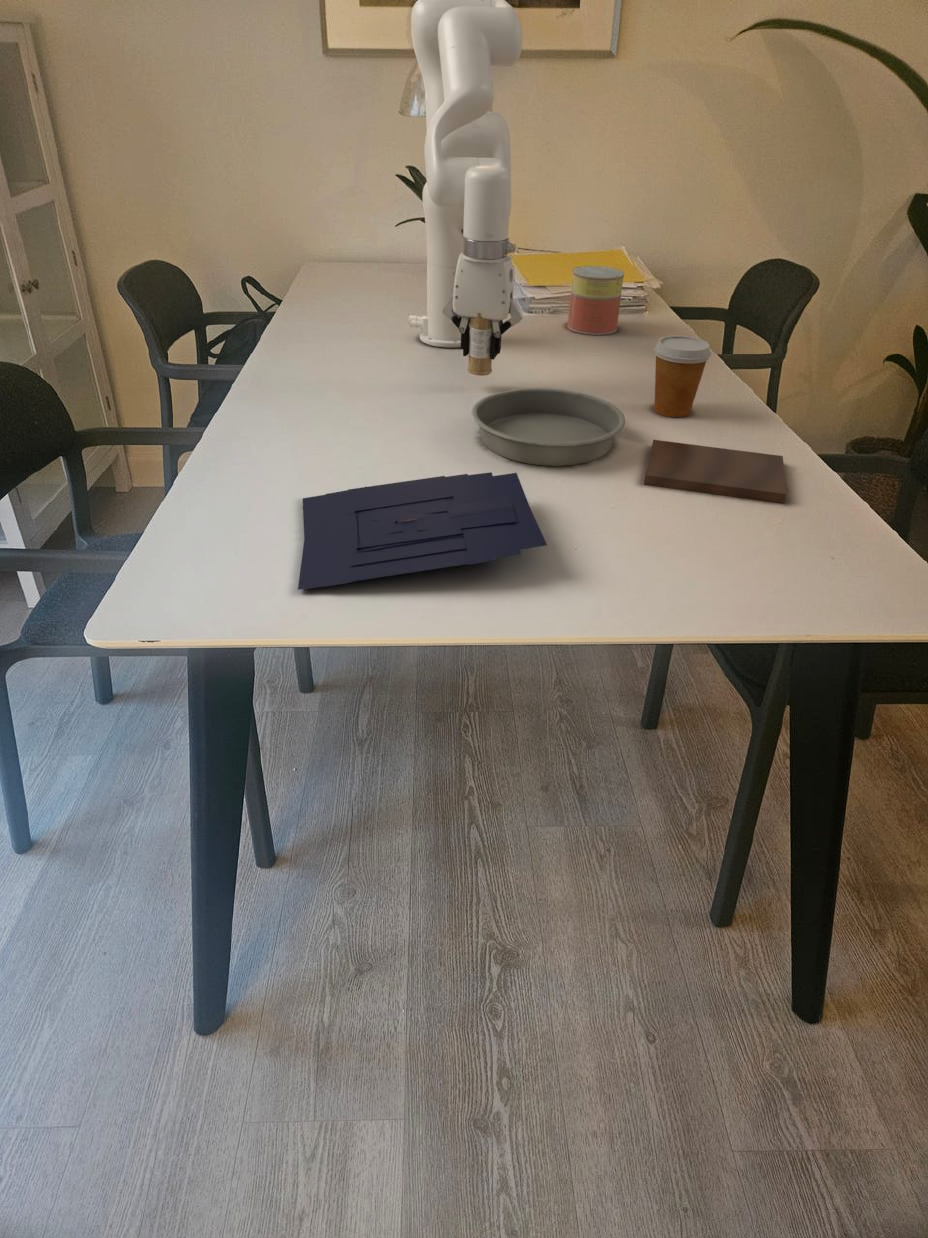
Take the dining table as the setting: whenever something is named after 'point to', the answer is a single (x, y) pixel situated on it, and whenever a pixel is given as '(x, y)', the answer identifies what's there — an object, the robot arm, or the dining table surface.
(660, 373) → the disposable coffee cup
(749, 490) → the walnut serving board
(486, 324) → the sprinkles bottle
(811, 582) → the dining table surface
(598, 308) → the canned food
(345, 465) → the dining table surface
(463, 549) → the papers
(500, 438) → the cake pan
